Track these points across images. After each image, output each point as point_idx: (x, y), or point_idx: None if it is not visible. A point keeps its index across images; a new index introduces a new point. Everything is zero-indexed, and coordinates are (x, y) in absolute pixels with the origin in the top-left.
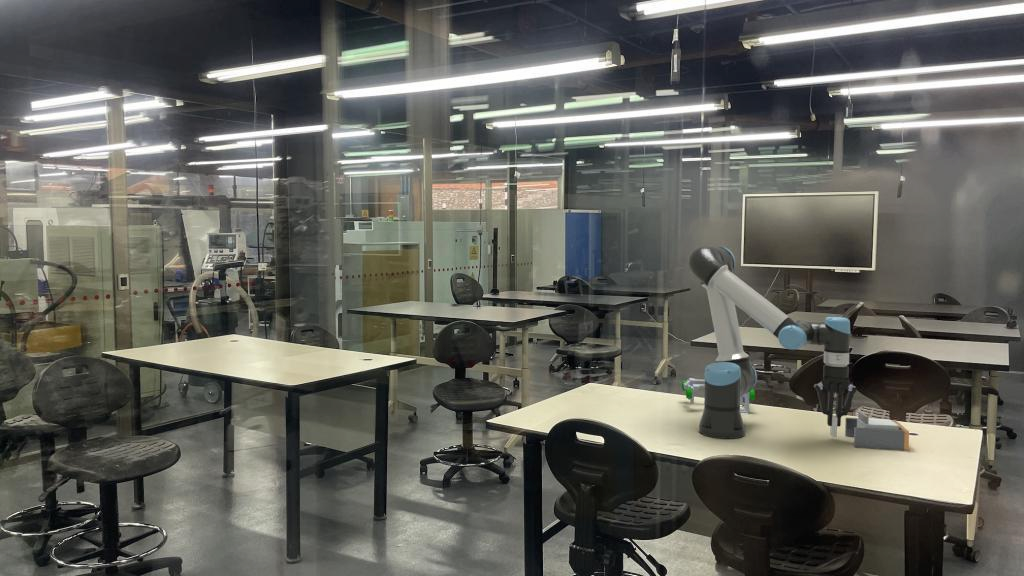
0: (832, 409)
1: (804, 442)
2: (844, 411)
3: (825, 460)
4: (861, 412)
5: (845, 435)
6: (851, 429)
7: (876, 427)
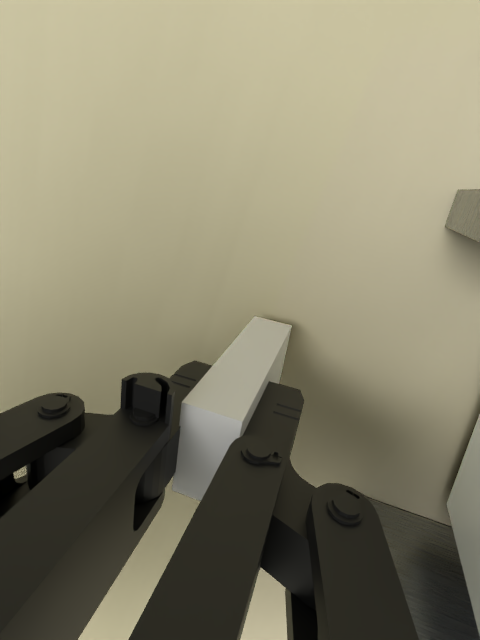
0: (110, 575)
1: (82, 385)
2: (294, 628)
3: (118, 625)
4: None
5: (451, 208)
6: None
7: None
